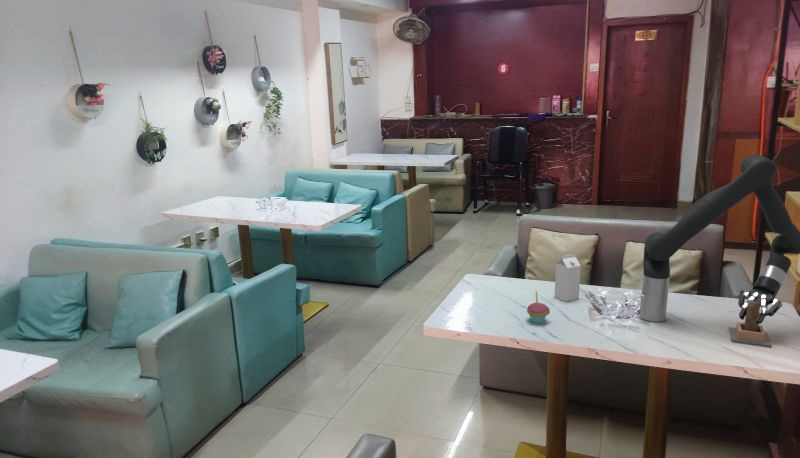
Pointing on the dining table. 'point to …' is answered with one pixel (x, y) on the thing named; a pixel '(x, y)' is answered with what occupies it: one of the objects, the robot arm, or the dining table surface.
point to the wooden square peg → (752, 315)
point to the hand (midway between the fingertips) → (749, 320)
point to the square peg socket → (749, 336)
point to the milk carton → (567, 278)
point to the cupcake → (538, 311)
